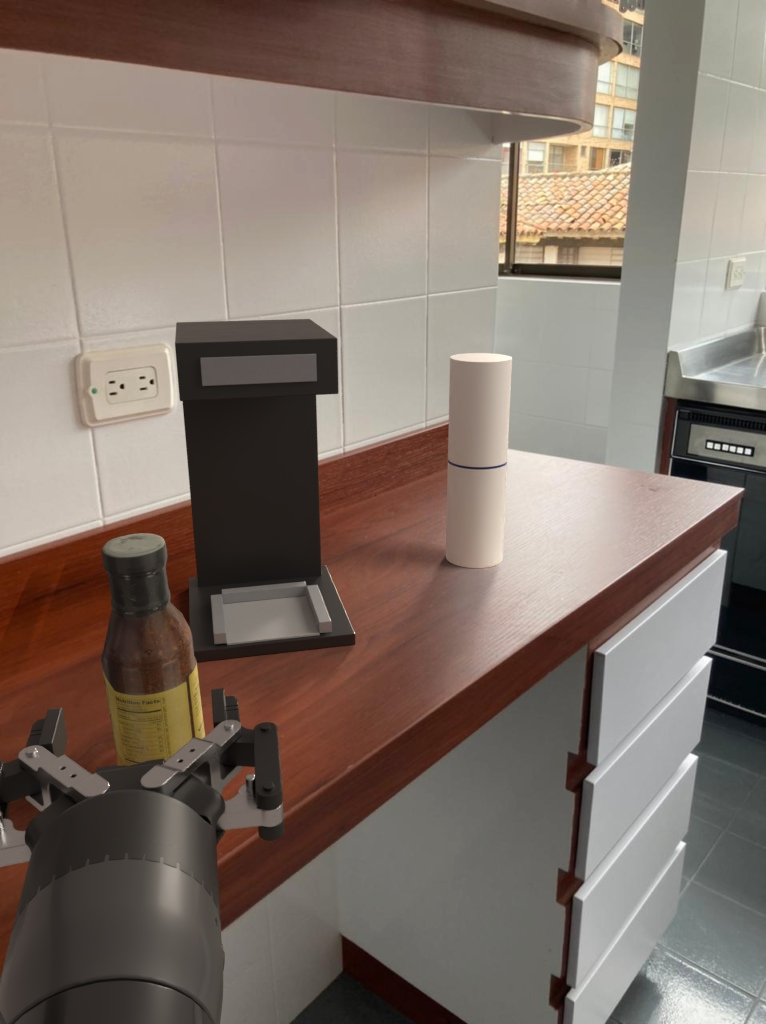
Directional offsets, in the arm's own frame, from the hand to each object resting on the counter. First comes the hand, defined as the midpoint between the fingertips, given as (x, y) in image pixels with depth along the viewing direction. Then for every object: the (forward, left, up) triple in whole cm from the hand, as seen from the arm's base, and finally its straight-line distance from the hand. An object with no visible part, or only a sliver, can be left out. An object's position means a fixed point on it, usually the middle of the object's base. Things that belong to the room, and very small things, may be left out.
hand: (139, 712), depth 45 cm
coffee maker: (+10, +39, -14) cm, 43 cm away
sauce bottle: (0, +11, -14) cm, 18 cm away
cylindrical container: (+37, +49, -14) cm, 63 cm away
